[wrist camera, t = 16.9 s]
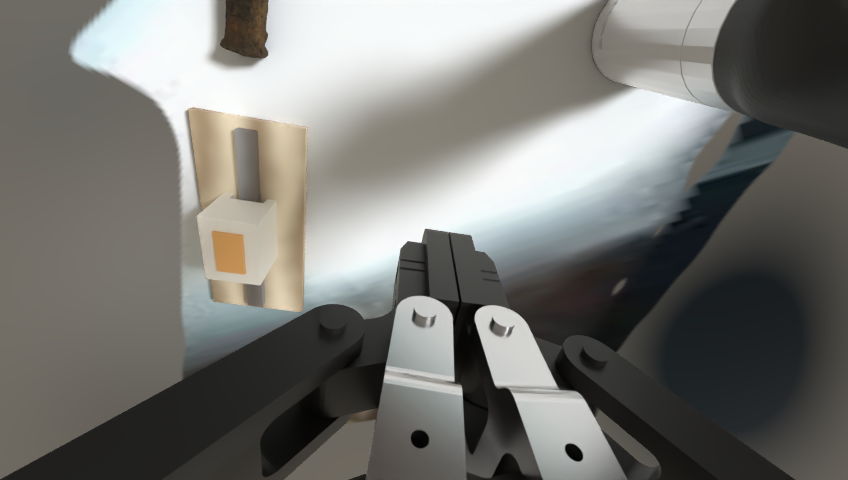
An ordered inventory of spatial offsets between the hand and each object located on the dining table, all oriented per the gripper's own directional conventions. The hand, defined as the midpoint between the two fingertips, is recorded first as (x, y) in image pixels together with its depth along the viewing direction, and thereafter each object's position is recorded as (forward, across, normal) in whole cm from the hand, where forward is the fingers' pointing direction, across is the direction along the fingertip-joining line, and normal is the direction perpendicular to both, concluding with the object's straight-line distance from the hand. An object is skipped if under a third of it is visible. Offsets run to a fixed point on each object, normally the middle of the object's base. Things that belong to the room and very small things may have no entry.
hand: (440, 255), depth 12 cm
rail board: (+31, +18, +18) cm, 40 cm away
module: (+30, +18, +18) cm, 39 cm away
